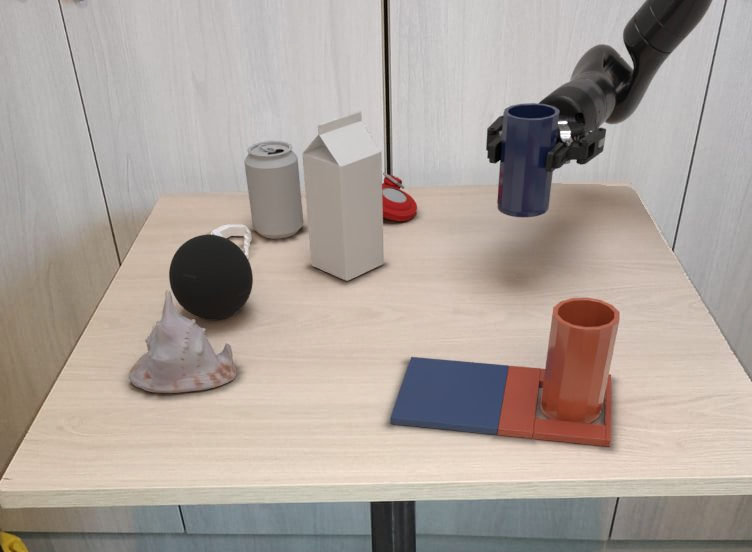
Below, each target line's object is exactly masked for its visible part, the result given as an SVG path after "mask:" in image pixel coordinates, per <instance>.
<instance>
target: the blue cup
mask: <svg viewBox="0 0 752 552" xmlns="http://www.w3.org/2000/svg"><path fill="white" fill-rule="evenodd" d="M559 112H560V110H559V109H557V108H556V107H554V106H550V105H546V104H538V103H536V102H535V103H534V102H530V103H529V102H527V103H526V102H525V103H517V104H513V105H510V106H508V107H505V108H504V111H503V115H502V116H503V127H502V142H501V156H500V161H499V171H498V186H497V201H496V204H497V205H496V206H497V207H496V208H497V210H498V211H499V212H500V213H502V214H503V215H506V216H508V217H514V218H535V217H539V216H542V215H544V214H546V213H547V212H548V211H549V209H550V199H551V191H552V183H553V174H554V173H553V172H554V171H553V172H547V171H546V160H547V154H548V152H549V151H550V150H551V149H552V148H553V147H554V146H555V145H556V139H557V130H558V121H559Z"/></svg>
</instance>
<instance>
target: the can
mask: <svg viewBox="0 0 752 552" xmlns="http://www.w3.org/2000/svg"><path fill="white" fill-rule="evenodd" d="M247 153H248V154H247V155H246V157H245V159H244V170H245V177H246V184H247V191H248V199H249V206H250V207H249V208H250V215H251V223H252V228H253V231H255V232H257V233H258V234H259V235H260V236H262V237H264V238H266V239H272V240H273V239H274V240H275V239H277V240H278V239H279V240H280V239H285V238H289V237H291V236H292V237H293V236H294V235H296V234H297V233H298V232H299V230H300V229H302V227H303V225H304V214H303V201H302V193H301V181H300V180H301V179H300V169H299V158H298V155H297V154H296V153H295V152H294V151H293V146H292V144H290V143H289V142H286V141H283V140H264V141H260V142H255V143H253V144H252V145H250V146H248V148H247Z"/></svg>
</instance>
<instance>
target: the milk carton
mask: <svg viewBox="0 0 752 552" xmlns="http://www.w3.org/2000/svg"><path fill="white" fill-rule="evenodd" d="M362 114H363V113H362V111H361V110H360V111H356V112H353V113H350V114H347V115H344V116H341V117H338V118H335V119H331V120H328V121H326V122H322V123H319V124H317V136H316V137H315V138H313V140H312V141H311V142H310V144H308V146H307V147H306V148H305V150H304V151H303V152H302V155H301V156H302V167H303V168H302V170H303V180H304V192H305V204H306V213H307V226H308V227H307V228H308V238H309V251H310V262H311V266H312V267H314V268H317V269H318V270H321V271H323V272H325V273H328V274H329V275H332V276H334V277H336V278H339V279H341V280H343V281H345V282H348V281H350V280H353V279H355V278H357V277H359V276H362V275H363V274H365V273H368V272H370V271H372V270H374V269H376V268H378V267H381V266H383V265H384V264H385V263H384V262H385V260H384V259H385V256H384V254H385V253H384V217H383V205H382V184H383V164H382V162H383V161H382V149H381V148H380V146H379V145H378V143H377V142H376V140H375V138H374V137H373V135H372V134H371V132H370V131H369V129H368V128H367V126H366V125H365V123H364V121H363V119H362V118H363V117H362Z"/></svg>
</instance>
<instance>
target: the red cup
mask: <svg viewBox="0 0 752 552" xmlns="http://www.w3.org/2000/svg"><path fill="white" fill-rule="evenodd" d="M620 319H621V318H620V311H619V310H618V309H617V308H616V307H615V306H614V305H613V304H611V303H609V302H606V301H604V300H601V299H597V298H592V297H571V298H567V299H564V300H561V301H559V302H558V303H557V304H555V305H554V306H552V314H551V321H550V329H549V336H548V337H549V338H548V344H547V350H546V351H547V352H546V360H545V367H544V369H545V374H544V381H543V387H542V390H541V397H540V404H539V405H540V411H541V412H542V414H543V415H544V417H546V418H547V419H549V420H559V421H569V422H579V423H589V424H592V422H594V421H596V420H597V419H598V418H599V417H600V415H601V414H602V411H603V406H604V402H605V391H606V386H607V381H608V376H609V374H610V370H611V365H612V360H613V356H614V350H615V345H616V339H617V334H618V330H619V329H618V328H619V324H620Z"/></svg>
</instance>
